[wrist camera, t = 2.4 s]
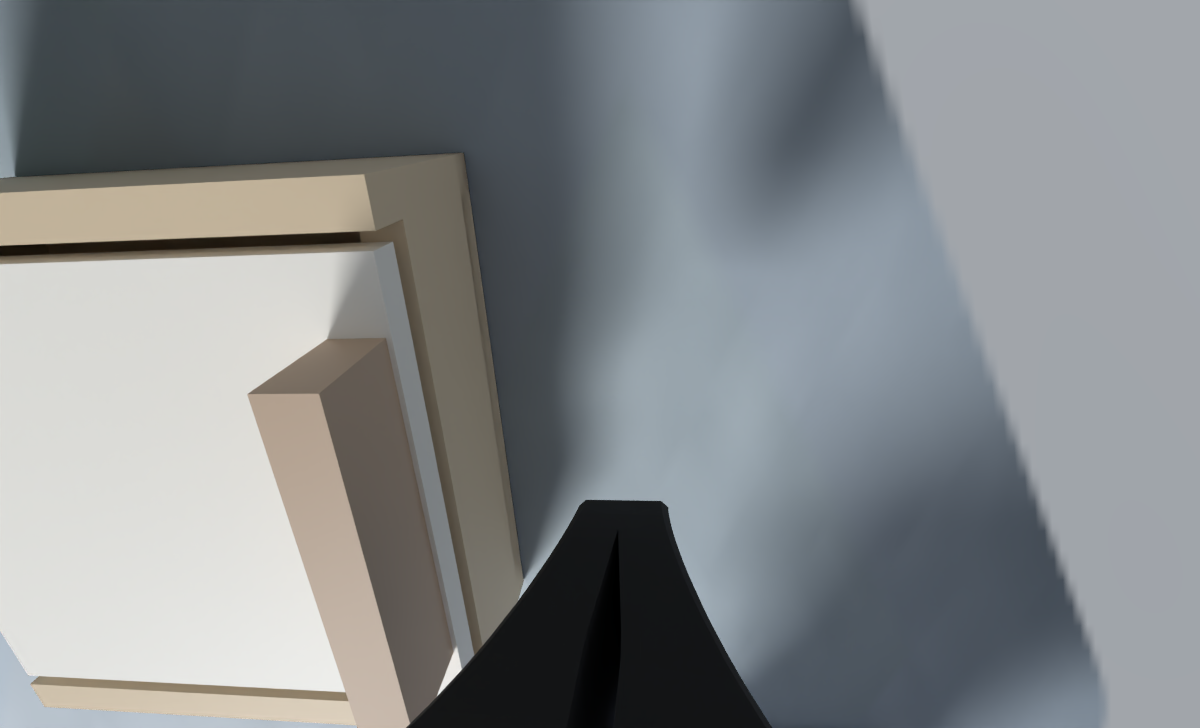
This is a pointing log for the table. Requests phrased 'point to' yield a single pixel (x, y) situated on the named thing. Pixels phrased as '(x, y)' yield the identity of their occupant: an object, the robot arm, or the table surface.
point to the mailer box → (437, 322)
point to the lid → (224, 476)
